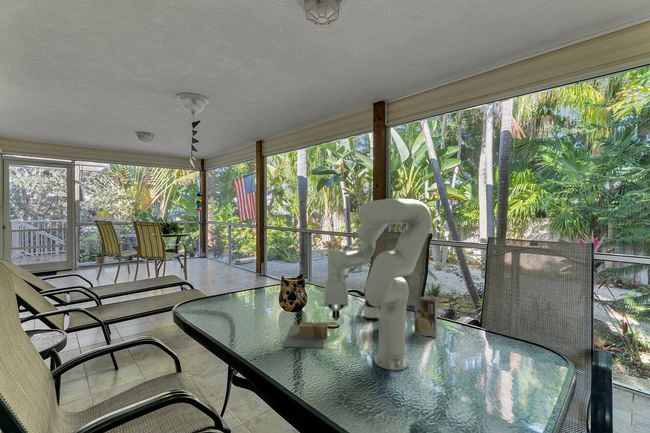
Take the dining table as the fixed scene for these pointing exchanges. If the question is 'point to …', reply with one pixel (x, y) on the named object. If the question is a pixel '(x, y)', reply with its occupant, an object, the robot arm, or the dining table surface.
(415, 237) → the robot arm
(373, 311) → the spread jar
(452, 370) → the dining table surface
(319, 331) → the block
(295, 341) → the mat
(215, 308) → the dining table surface
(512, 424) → the dining table surface
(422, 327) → the coffee box
